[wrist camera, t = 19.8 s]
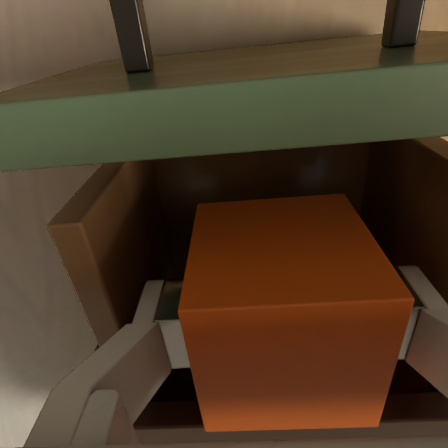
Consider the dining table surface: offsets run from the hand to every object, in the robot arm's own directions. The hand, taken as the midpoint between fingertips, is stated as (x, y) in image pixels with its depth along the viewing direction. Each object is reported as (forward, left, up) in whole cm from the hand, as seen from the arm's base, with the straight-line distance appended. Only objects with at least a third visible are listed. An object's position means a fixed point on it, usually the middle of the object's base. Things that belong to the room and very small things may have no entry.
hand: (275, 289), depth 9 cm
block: (0, 0, -2) cm, 2 cm away
